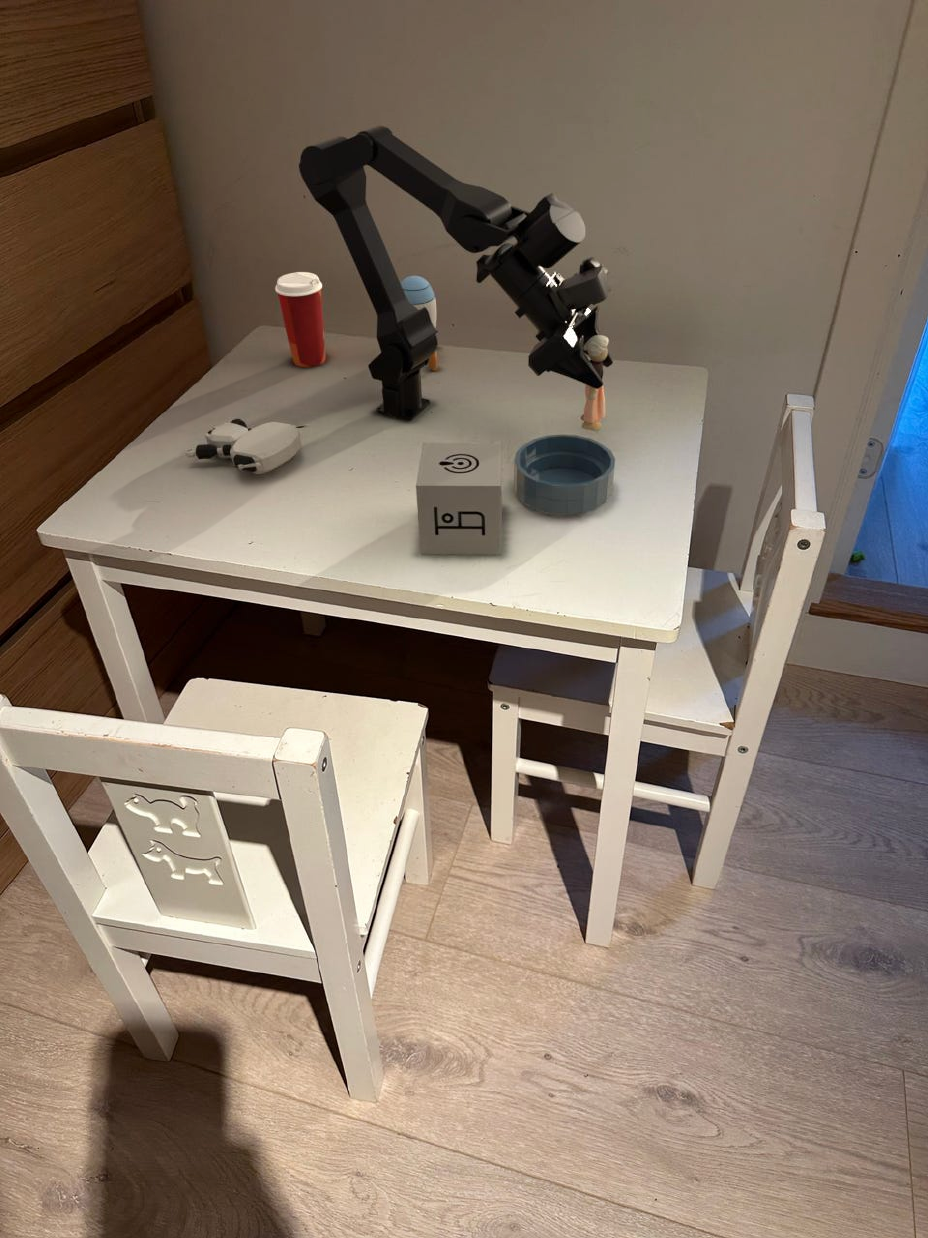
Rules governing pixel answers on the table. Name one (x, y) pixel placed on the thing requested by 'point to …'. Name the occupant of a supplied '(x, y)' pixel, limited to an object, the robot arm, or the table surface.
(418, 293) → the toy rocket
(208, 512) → the table surface
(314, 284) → the paper cup
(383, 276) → the robot arm
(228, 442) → the robot toy
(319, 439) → the table surface
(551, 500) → the blue pet bowl
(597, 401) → the grandmother figurine
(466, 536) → the icon cube
